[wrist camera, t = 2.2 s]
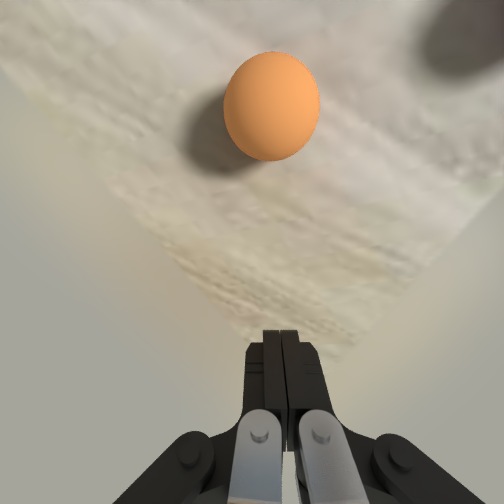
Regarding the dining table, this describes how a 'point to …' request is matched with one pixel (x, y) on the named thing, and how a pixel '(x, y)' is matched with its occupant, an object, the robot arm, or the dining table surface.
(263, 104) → the ball
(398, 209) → the dining table surface
